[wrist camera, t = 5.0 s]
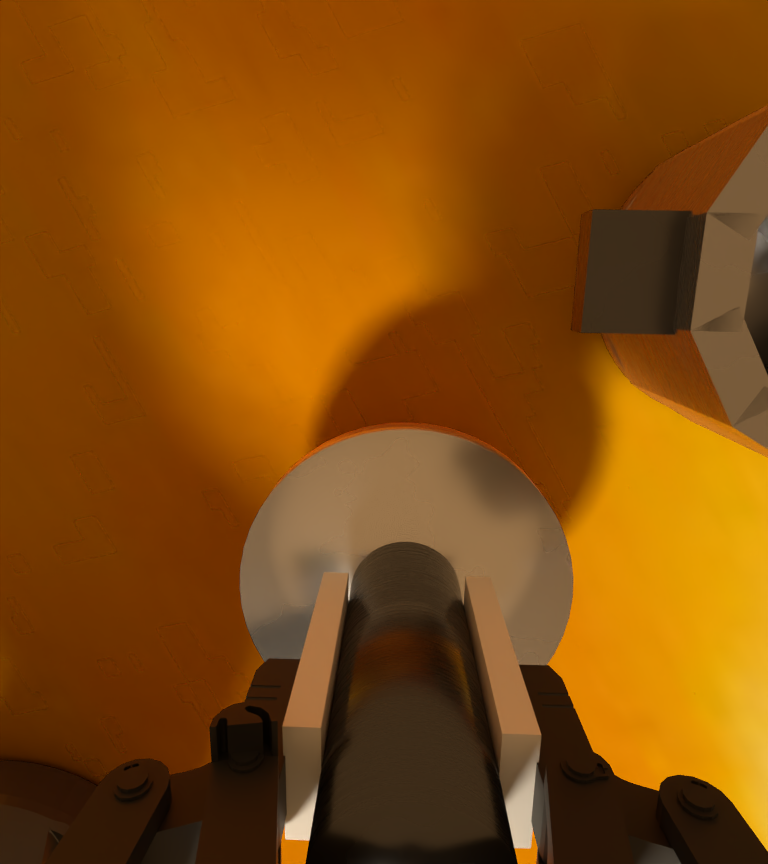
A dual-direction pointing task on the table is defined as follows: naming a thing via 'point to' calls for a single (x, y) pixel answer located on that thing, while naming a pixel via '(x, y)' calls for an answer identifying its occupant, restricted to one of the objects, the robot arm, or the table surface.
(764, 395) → the pot
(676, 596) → the table surface
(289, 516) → the lid
